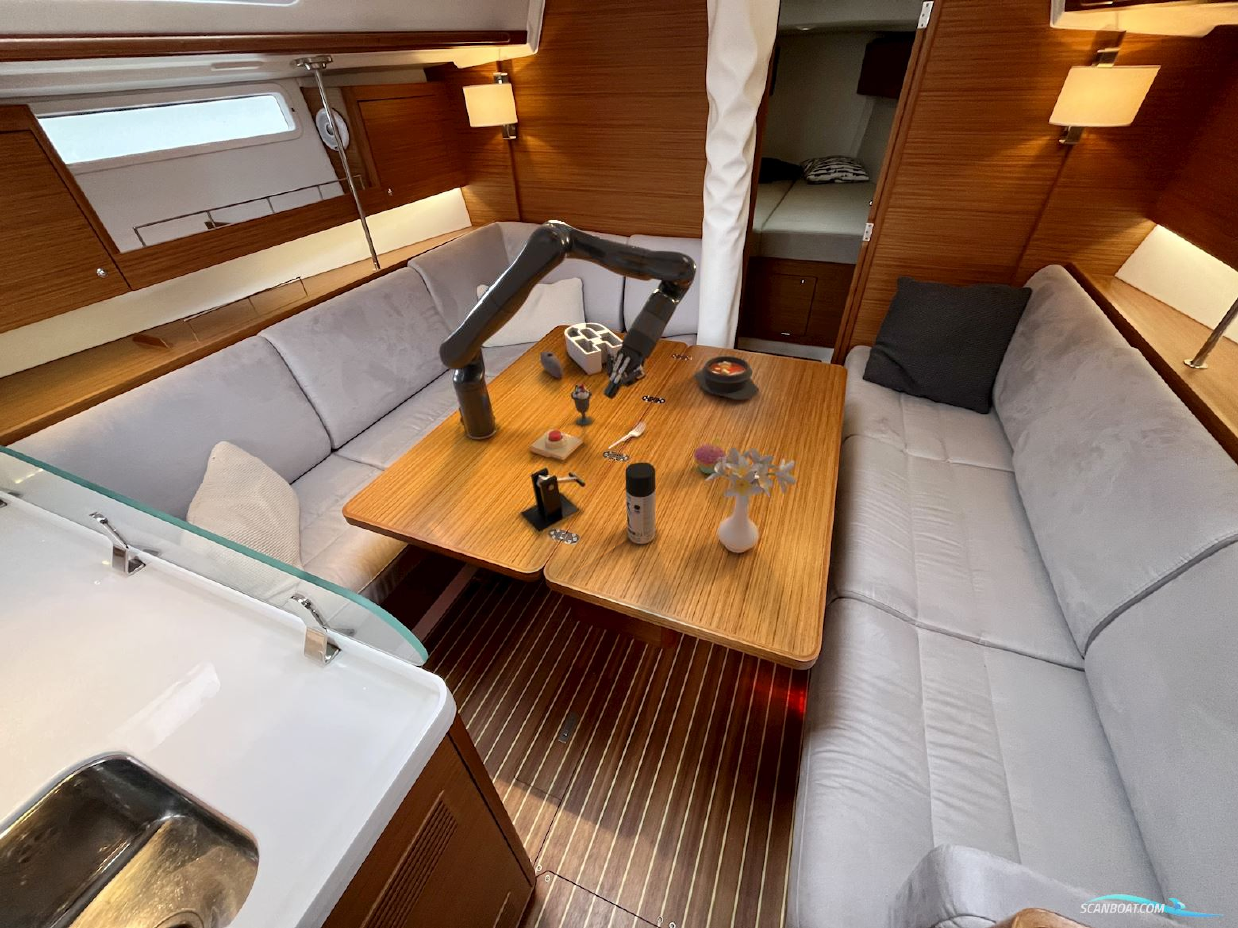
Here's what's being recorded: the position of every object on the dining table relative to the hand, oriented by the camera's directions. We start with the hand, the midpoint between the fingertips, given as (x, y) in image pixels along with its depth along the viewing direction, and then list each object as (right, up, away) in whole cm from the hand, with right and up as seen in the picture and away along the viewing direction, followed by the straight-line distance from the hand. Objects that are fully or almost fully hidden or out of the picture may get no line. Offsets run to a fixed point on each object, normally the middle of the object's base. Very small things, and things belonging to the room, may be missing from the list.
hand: (607, 397), depth 121 cm
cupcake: (+28, -18, +18) cm, 37 cm away
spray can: (+8, -34, -1) cm, 35 cm away
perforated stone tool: (-22, +18, +67) cm, 73 cm away
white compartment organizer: (-8, +26, +77) cm, 82 cm away
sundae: (-8, -3, +40) cm, 41 cm away
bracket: (-15, -29, +6) cm, 33 cm away
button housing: (-16, -12, +29) cm, 35 cm away
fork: (+4, -10, +30) cm, 32 cm away
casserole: (+40, +10, +53) cm, 67 cm away
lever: (-12, -22, +3) cm, 25 cm away
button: (-16, -9, +27) cm, 32 cm away
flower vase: (+31, -35, -4) cm, 47 cm away
